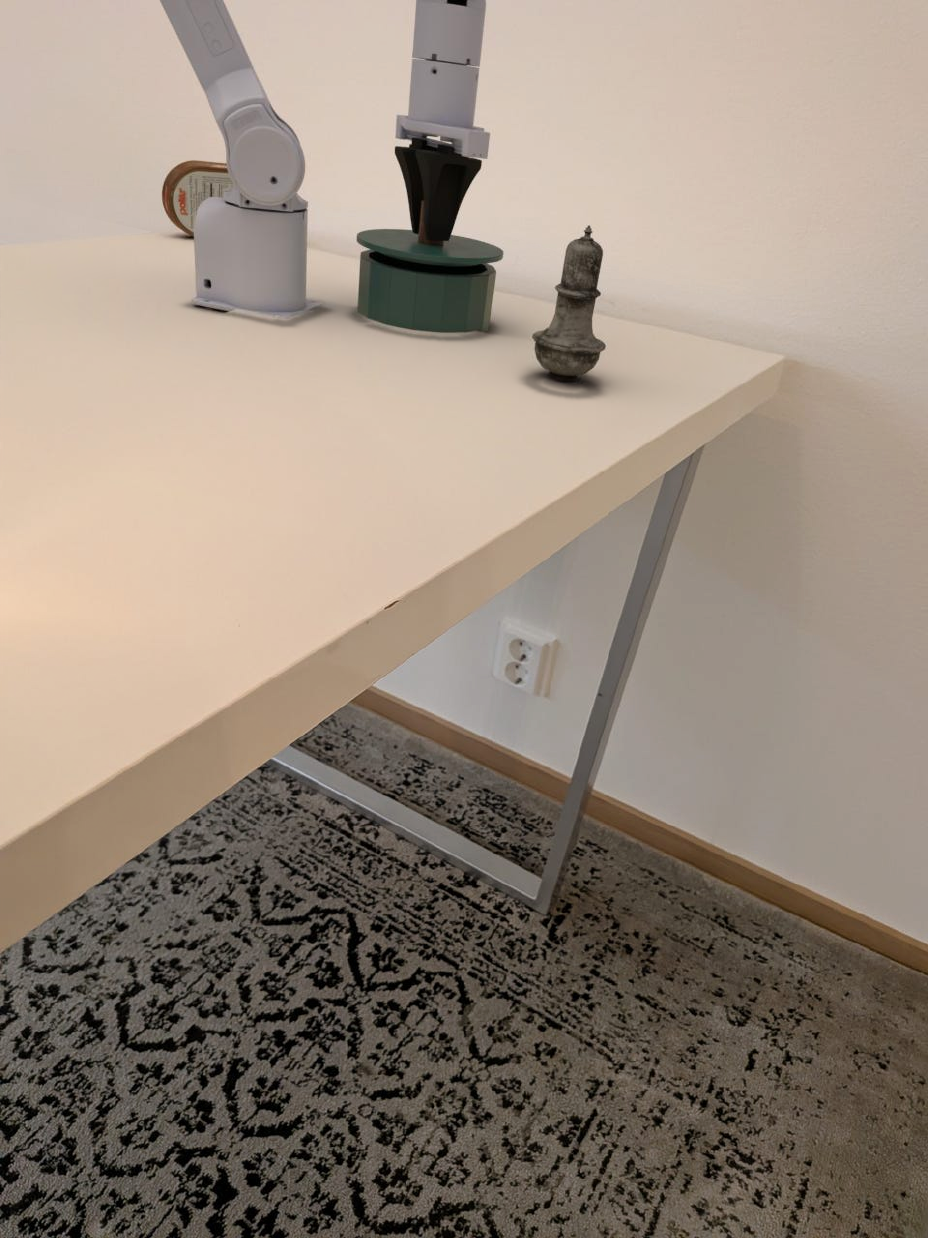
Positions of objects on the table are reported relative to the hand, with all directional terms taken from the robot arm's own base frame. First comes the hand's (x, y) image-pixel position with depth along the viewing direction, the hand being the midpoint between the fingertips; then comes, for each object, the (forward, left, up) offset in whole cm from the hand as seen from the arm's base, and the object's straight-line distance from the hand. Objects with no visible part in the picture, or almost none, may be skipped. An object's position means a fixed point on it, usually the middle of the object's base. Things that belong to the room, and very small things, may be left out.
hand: (430, 236), depth 81 cm
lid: (0, 0, -1) cm, 1 cm away
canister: (0, 0, -8) cm, 8 cm away
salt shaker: (+16, -12, -8) cm, 22 cm away
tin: (-34, +22, -8) cm, 41 cm away
